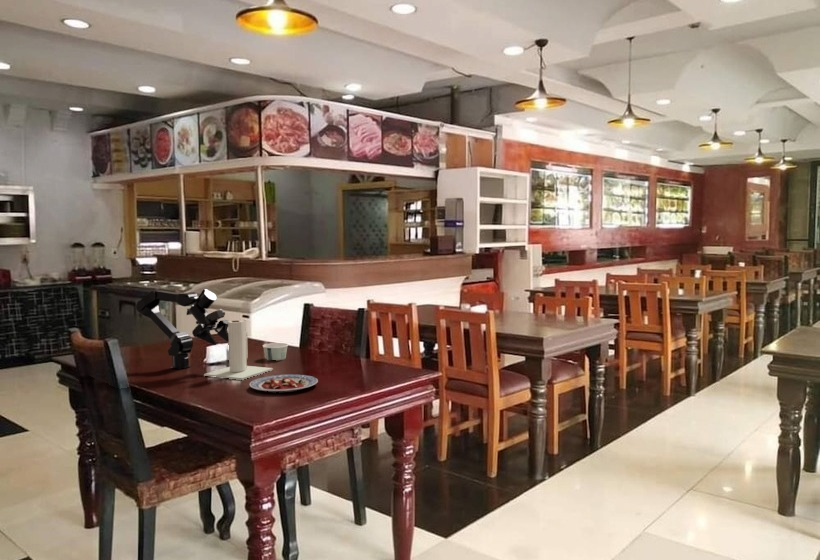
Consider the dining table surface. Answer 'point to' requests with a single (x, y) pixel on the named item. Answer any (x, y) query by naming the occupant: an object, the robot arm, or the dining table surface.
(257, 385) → the ceramic plate
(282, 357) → the food container
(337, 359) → the dining table surface
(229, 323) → the paper towel roll
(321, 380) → the dining table surface
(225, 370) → the sage board
